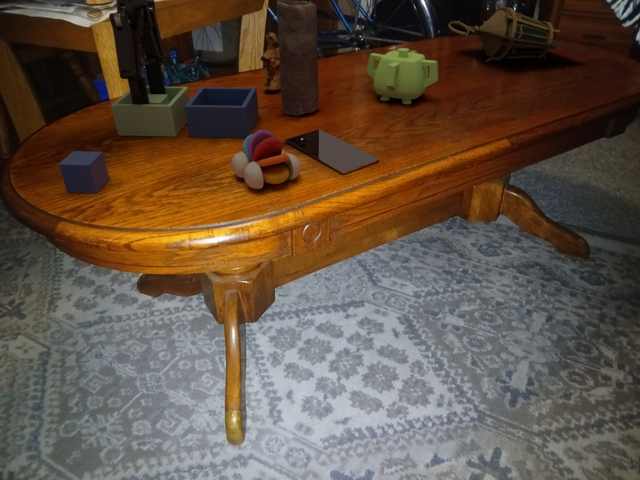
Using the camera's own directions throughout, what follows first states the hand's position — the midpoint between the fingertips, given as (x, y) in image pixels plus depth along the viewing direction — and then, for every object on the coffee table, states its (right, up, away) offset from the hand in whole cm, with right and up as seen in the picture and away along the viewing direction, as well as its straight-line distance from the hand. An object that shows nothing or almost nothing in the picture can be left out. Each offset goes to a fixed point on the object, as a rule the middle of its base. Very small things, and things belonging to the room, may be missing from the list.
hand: (151, 106), depth 94 cm
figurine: (+21, +8, +18) cm, 29 cm away
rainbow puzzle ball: (+23, -15, -16) cm, 32 cm away
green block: (0, -2, +2) cm, 3 cm away
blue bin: (+13, -3, +1) cm, 14 cm away
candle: (+27, +1, +8) cm, 28 cm away
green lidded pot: (+48, +5, +14) cm, 50 cm away
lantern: (+78, +21, +36) cm, 89 cm away
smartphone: (+33, -10, -9) cm, 35 cm away
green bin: (0, -3, +2) cm, 4 cm away
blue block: (-3, -16, -18) cm, 24 cm away
